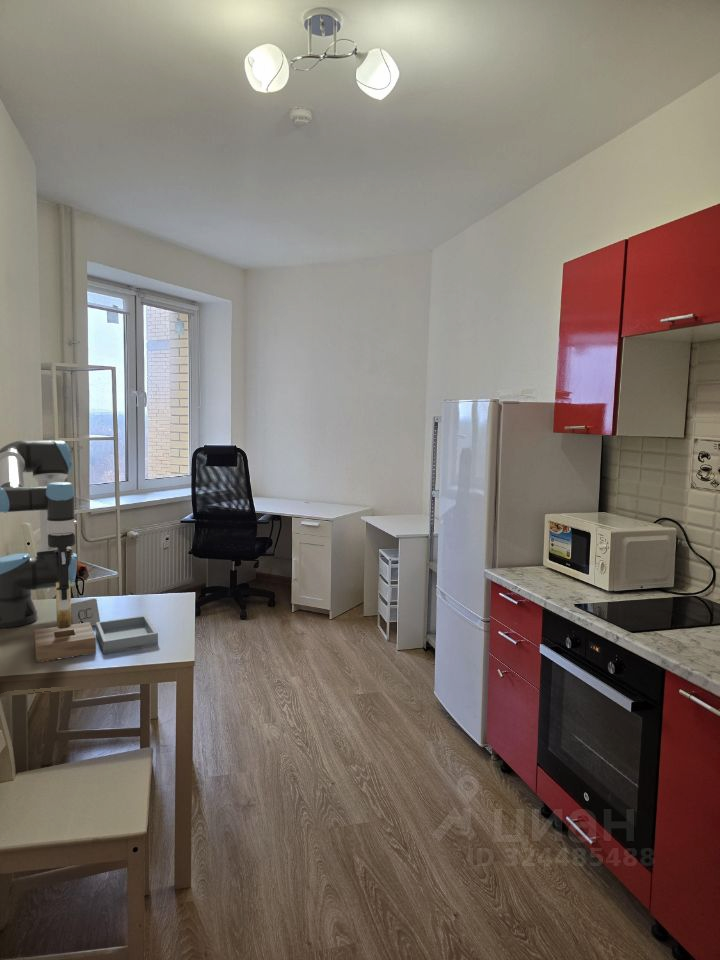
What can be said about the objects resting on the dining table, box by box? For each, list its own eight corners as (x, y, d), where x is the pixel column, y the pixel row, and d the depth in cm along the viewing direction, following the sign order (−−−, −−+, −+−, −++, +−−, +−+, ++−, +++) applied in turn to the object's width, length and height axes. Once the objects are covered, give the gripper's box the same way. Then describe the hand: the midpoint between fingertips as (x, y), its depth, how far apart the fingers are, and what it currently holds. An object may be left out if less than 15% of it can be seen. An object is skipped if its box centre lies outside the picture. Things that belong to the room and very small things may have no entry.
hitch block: (35, 645, 188) (34, 629, 188) (90, 636, 196) (89, 622, 196) (36, 663, 174) (36, 646, 174) (96, 653, 182) (95, 637, 182)
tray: (96, 633, 199) (95, 622, 198) (146, 626, 207) (145, 615, 206) (103, 654, 182) (103, 641, 181) (158, 645, 190) (157, 633, 189)
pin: (56, 625, 186) (55, 581, 184) (70, 623, 188) (69, 580, 186) (57, 629, 182) (56, 584, 181) (72, 627, 184) (70, 583, 183)
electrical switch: (74, 631, 201) (72, 604, 200) (67, 629, 204) (65, 602, 204) (101, 624, 208) (99, 598, 208) (93, 623, 211) (91, 597, 211)
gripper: (77, 537, 176) (79, 613, 179) (72, 527, 191) (74, 598, 193) (49, 539, 173) (51, 617, 175) (46, 529, 187) (48, 601, 190)
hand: (63, 607), depth 184 cm, fingers closed on pin, 4 cm apart
